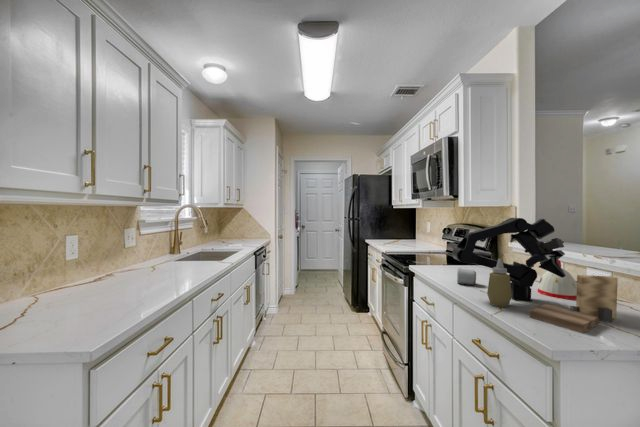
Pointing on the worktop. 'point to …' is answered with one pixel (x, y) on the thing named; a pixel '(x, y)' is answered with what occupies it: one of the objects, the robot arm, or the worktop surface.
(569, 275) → the kitchen timer
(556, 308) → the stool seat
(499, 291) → the squeeze bottle
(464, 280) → the ceramic mug
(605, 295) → the light wooden board
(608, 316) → the stop block
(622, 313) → the worktop surface
